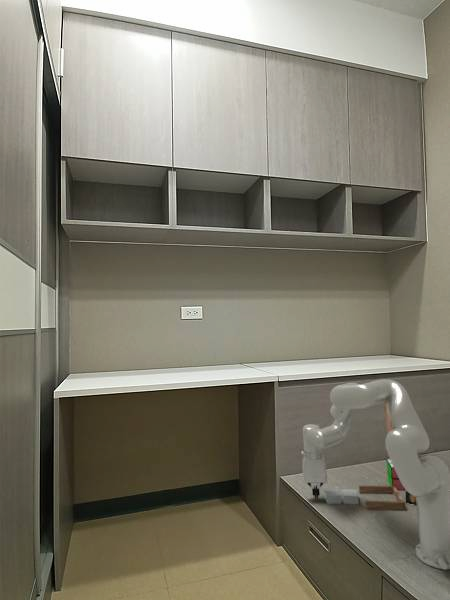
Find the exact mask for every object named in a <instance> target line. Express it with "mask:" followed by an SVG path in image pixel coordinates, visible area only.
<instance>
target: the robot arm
mask: <svg viewBox="0 0 450 600" xmlns="http://www.w3.org/2000/svg"><path fill="white" fill-rule="evenodd" d="M407 391H408V390H407V389H406V388H405V387H404V386H403V385H402V384H401V383H400V382H398V381H396V380H394V379H393V380H392V379H388V378H387V379H377V380H373V381H370V382H365V383H362V384H359V383H357V382H348V383H342V384H338V385H336V386H334V387H333V388H332V390H331V391H330V395H329V399H330V402H331V404H332V405H331V407H330V415H331V416H332V417H333V419H334V420H333V423H332V424H331V425H329V426H325V427H322V428H321V427H320V426H319V425H317V424H313V423H310V424H305V425H304V426H303V427H302V436H303V451H300V453H301V454H300V455H301V456H302V483H303V484H305V485H308V487H310V488H311V492H312V496H314V499H319V496H320V489H321V487H322V486H323V485H326V484H328V483H329V481H328V474H327V473H328V472H327V464H326V461H325V460H326V459H325V457H324V456H323V449H328V448H330V447H332V446H335V445H337V444H340V443H341V442H343V441H344V439H345V438H346V437H347V435H348V433H349V432H350V429H351V419H352V417H353V416H354V415H355V413H356V412H357V410H359V409H360V410H362V409H366V410H367V409H371V408H375V407H378V406H381V405H384V403H387V404H388V405H389V407H388V409H389V415H390V418H391V420H392V422H393V424H394V427H395V429H394V430H392V431H390V432H389V433H388V434H387V433H386V436H385V442H384V444H385V449H386V452H387V455H388V458H389V457H390V459H391V462H392V464H393V466H394V468H395V471H396V473H397V475H398V477H399V480H400V482H401V484H402V485H403V487H404V488H405V489H406V491H407V492H409V493H410V494H411V495H413V496H416V500H417V506H416V510H417V512H416V513H417V522H418V523H417V524H418V534H419V535H418V536H419V543H418V544H417V545H416V547H415V548H414V549H415V554H416V557H417V558H418V559H419V560H420V561H421V562H423V563H424V564H426V565H428V566H429V567H433V568H436V569H440V570H443V571H446V570H450V468H449V467H448V466H447V464H446V462H445V461H444V460H442V459H441V458H439V457H438V456H434V455H424V456H421V457H419V455H420V454H422V453H424V452H425V451H426V450H428V448H430V439H429V436H428V433H427V431H426V429H425V427H424V426H423V423H422V421H421V420H420V418H419V416H418V413H417V412H416V410H415V408H414V406H413V403H412V400H411V398H410V396H409V393H408V392H407ZM315 484H316V485H315Z"/></svg>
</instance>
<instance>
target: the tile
mask: <svg viewBox="0 0 450 600" xmlns="http://www.w3.org/2000/svg"><path fill="white" fill-rule="evenodd" d="M342 498H343V504H347V505H349V504H350V505H359V503H360V502H359V493H358V490H357V489H350V488H349V489H347V488H345V489H344V488H342Z"/></svg>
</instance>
